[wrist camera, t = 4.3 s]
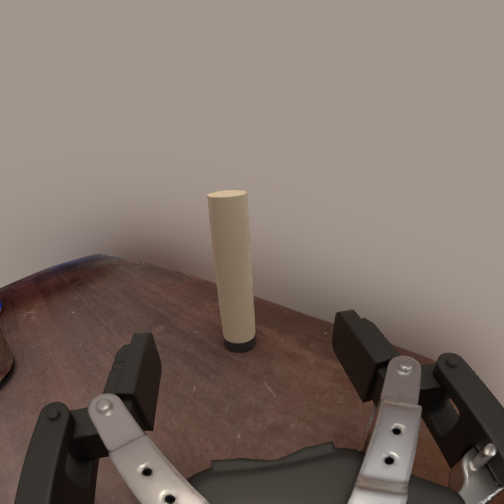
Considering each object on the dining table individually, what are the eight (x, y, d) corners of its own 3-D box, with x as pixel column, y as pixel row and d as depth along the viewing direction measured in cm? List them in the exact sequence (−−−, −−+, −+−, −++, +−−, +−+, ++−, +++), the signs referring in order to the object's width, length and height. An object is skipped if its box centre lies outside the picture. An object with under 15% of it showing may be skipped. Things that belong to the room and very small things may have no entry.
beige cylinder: (248, 329, 26) (238, 188, 21) (261, 346, 24) (253, 193, 19) (220, 337, 25) (203, 193, 20) (230, 355, 23) (213, 198, 18)
